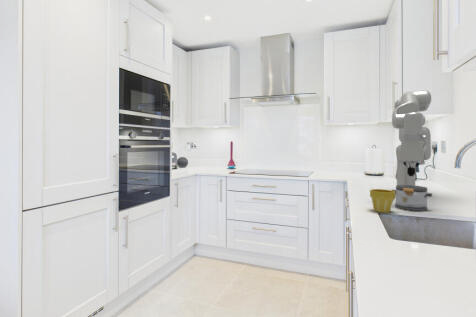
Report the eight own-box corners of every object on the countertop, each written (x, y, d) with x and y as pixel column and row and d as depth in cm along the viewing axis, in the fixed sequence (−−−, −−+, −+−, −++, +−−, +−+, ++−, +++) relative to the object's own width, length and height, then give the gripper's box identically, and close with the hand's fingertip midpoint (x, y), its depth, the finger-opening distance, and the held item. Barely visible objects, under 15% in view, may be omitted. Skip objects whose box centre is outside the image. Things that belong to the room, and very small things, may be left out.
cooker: (394, 203, 143) (395, 186, 142) (433, 208, 132) (433, 189, 131) (388, 207, 132) (388, 189, 132) (429, 213, 121) (430, 193, 121)
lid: (399, 186, 141) (399, 184, 141) (429, 189, 132) (429, 186, 132) (392, 189, 129) (392, 187, 129) (424, 193, 121) (424, 190, 121)
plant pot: (388, 208, 130) (388, 188, 130) (399, 214, 120) (399, 192, 120) (366, 208, 131) (366, 188, 131) (374, 213, 121) (375, 192, 121)
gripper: (432, 138, 127) (430, 176, 129) (396, 138, 137) (395, 173, 139) (430, 138, 122) (428, 178, 123) (393, 138, 132) (392, 175, 133)
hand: (411, 175), depth 131 cm, fingers closed
